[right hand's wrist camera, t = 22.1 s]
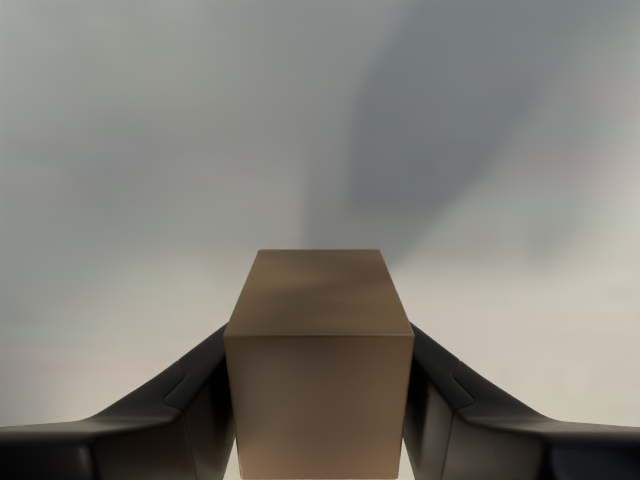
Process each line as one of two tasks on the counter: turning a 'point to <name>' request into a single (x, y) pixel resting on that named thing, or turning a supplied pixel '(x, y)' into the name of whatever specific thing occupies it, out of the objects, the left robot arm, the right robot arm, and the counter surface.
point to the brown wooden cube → (319, 367)
